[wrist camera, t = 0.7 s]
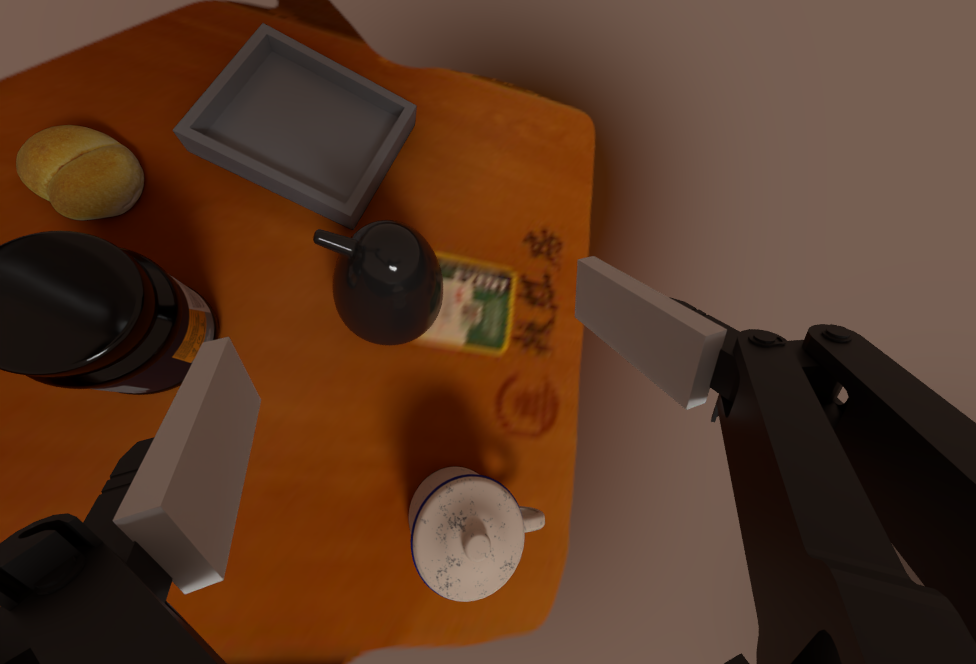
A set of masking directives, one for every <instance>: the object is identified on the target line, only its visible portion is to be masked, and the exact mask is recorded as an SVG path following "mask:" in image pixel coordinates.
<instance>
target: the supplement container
mask: <svg viewBox="0 0 976 664" xmlns="http://www.w3.org/2000/svg"><path fill="white" fill-rule="evenodd" d="M218 336H219V327H218V322H217V318H216V315H215V313H214V311H213V309H212V307H211V306H210V304H209V303H208V302H207V301H206V300H205V299H204V298H203V297H202V296H201V295H200V294H199V293H197V292H196V291H195V290H193V289H191V288H190V287H188V286H186V285H184V284H183V283H181V282H180V281H178V280H177V279H175V278H174V277H172V276H171V275H169V274H168V273H166V271H165V270H164V269H162V268H161V267H160V266H159V265H158V264H156V263H155V262H153V261H152V260H150V259H149V258H147V257H145V256H143V255H141V254H138V253H136V252H133V251H130V250H127V249H124V248H119V247H117V246H115V245H114V244H112V243H110V242H108V241H106V240H104V239H102V238H99V237H96V236H93V235H90V234H85V233H80V232H73V231H48V232H40V233H34V234H30V235H26V236H22V237H19V238H16V239H14V240H11V241H9V242H7V243H4V244H2V245H0V369H1V370H3V371H7V372H11V373H15V374H22V375H26V376H28V377H29V378H32V379H34V380H36V381H38V382H41V383H44V384H47V385H51V386H55V387H61V388H69V389H96V390H105V391H114V392H119V393H124V394H133V395H148V394H155V393H160V392H164V391H168V390H171V389H173V388H176V387H178V386H180V385H181V384H182V382H183V381H184V379H185V377H186V375H187V373H188V371H189V369H190V367H191V365H192V363H193V361H194V359H195V357H196V355H197V353H198V351H199V349H200V347H201V345H202V343H203V342H208V341H212V340H217V339H218Z"/></svg>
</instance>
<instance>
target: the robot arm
mask: <svg viewBox="0 0 976 664" xmlns="http://www.w3.org/2000/svg"><path fill="white" fill-rule="evenodd" d="M575 317H576V318H577V319H578V320H579V321H580V322H582V323H583V324H584V325H585V326H586V327H588V328H589V329H590V330H591V331H592V332H594V333H595V334H596V335H597V336H598V337H600V338H601V339H602V340H603V341H604V342H606V343H607V344H608V345H609V346H610V347H612V348H613V349H614V350H615V351H617V352H618V353H619V354H620V355H621V356H622V357H624V358H625V359H626V360H627V361H628V362H630V363H631V364H632V365H633V366H634V367H636V368H637V369H638V370H639V371H641V372H642V373H643V374H644V375H645V376H646V377H648V378H649V379H650V380H651V381H652V382H654V383H655V384H656V385H657V386H658V387H660V388H661V389H662V390H663V391H664V392H666V393H667V394H668V395H669V396H670V397H672V398H673V399H674V400H675V401H676V402H678V403H679V404H680V405H681V406H683V407H684V408H685V409H686V410H687V409H689V408H692V407H695V406H698V405H701V404H703V403H705V402H706V399H707V396H708V392H709V389H710V388H712V389H713V390H715V391H716V392H717V393H719V396H718V399H717V402H716V405H715V408H714V411H713V414H712V419H711V422H715V420H716V417H718V416H719V418H720V424H721V429H722V434H723V440H724V445H725V450H726V455H727V461H728V465H729V471H730V476H731V481H732V487H733V492H734V497H735V502H736V507H737V513H738V517H739V523H740V528H741V534H742V539H743V544H744V550H745V555H746V560H747V565H748V570H749V576H750V581H751V586H752V592H753V597H754V601H755V607H756V612H757V618H758V625H759V637H758V644H757V664H976V423H975V422H973V421H972V420H971V419H970V418H968V417H967V416H966V415H964V414H963V413H962V412H960V411H959V410H958V409H957V408H955V407H954V406H953V405H951V404H950V403H948V402H947V401H946V400H945V399H943V398H942V397H941V396H940V395H938V394H937V393H935V392H934V391H933V390H932V389H930V388H929V387H928V386H926V385H925V384H924V383H922V382H921V381H920V380H919V379H917V378H916V377H915V376H913V375H912V374H911V373H909V372H908V371H907V370H905V369H904V368H903V367H901V366H900V365H899V364H897V363H896V362H895V361H893V360H892V359H891V358H890V357H888V356H887V355H886V354H884V353H883V352H882V351H881V350H879V349H878V348H877V347H875V346H874V345H873V344H871V343H870V342H869V341H867V340H866V339H865V338H863V337H862V336H861V335H859V334H857V333H856V332H854V331H851V330H848V329H846V328H845V327H841V326H837V325H825V324H820V325H814V326H812V327H810V328H809V329H808V332H807V334H806V336H805V339H804V340H794V341H787V340H786V339H784V338H783V337H781V336H779V335H777V334H775V333H772V332H769V331H764V330H755V329H754V330H753V329H751V330H750V329H749V330H744V331H741V332H739V331H737V330H736V329H734V328H732V327H730V326H728V325H726V324H725V323H723V322H721V321H719V320H717V319H715V318H713V317H712V316H710V315H706V313H704V312H702V311H701V310H697V309H696V308H695V307H693V306H691V305H689V304H688V303H686V302H683V301H680V300H677V299H673V298H670V297H667V296H665V295H663V294H662V293H660V292H658V291H656V290H654V289H653V288H651V287H649V286H647V285H645V284H643V283H641V282H640V281H638V280H636V279H634V278H632V277H631V276H629V275H627V274H625V273H623V272H622V271H620V270H618V269H616V268H614V267H613V266H611V265H609V264H607V263H605V262H603V261H602V260H600V259H598V258H596V257H594V256H592V257H587V258H583V259H578V266H577V286H576V305H575ZM842 387H844V388H845V389H846V391H847V393H848V396H849V398H848V399H847V401H846V402H845V403H842V402H841V401H840V400H839V399H838V398H837V396H838V394H839V393H840V391H841V389H842ZM260 403H261V399H260V397H259V395H258V393H257V391H256V389H255V387H254V385H253V383H252V381H251V379H250V377H249V375H248V373H247V371H246V369H245V368H244V366H243V364H242V362H241V360H240V358H239V356H238V354H237V352H236V350H235V348H234V346H233V344H232V342H231V340H230V338H229V337H226V338H221V339H217V340H212V341H208V342H203V343H202V345H201V347H200V349H199V351H198V353H197V355H196V357H195V359H194V361H193V363H192V365H191V367H190V369H189V371H188V373H187V375H186V377H185V379H184V381H183V382H182V384H181V386H180V388H179V390H178V392H177V394H176V396H175V398H174V400H173V402H172V404H171V406H170V408H169V410H168V412H167V414H166V416H165V418H164V420H163V422H162V424H161V426H160V428H159V430H158V432H157V434H156V436H155V437H154V438H150V439H146V440H143V441H139V442H137V443H136V444H135V445H134V446H133V447H132V448H131V449H130V450H129V451H128V452H127V453H126V454H125V455H124V456H123V457H122V458H121V459H120V460H119V461H118V463H117V465H116V467H115V468H114V470H113V472H112V474H111V475H110V480H108V481H107V482H106V484H105V486H104V488H103V489H102V491H101V492H102V494H101V495H99V496H98V498H97V500H96V501H95V503H94V505H93V507H92V508H91V510H90V512H89V514H88V515H87V517H86V519H85V521H84V522H83V523H82V522H81V521H80V520H79V519H78V518H77V517H75V516H73V515H70V514H59V515H52V516H50V517H47V518H44V519H41V520H39V521H36V522H34V523H32V524H30V525H28V526H26V527H25V528H23V529H21V530H19V531H17V532H15V533H14V534H13V535H11V536H10V537H8V538H7V539H6V540H4V541H3V542H2V543H0V606H1V607H0V664H227V663H226V662H225V661H224V660H223V659H222V658H221V657H220V656H219V655H218V654H217V653H216V652H215V651H214V650H213V649H212V648H211V647H210V646H209V645H208V644H207V642H206V641H205V640H204V639H203V638H202V637H201V636H200V635H199V634H198V633H197V632H196V631H195V630H194V629H193V628H192V627H191V626H190V625H189V624H188V623H187V622H186V621H185V619H184V618H183V617H182V616H181V615H180V614H179V613H178V612H177V611H176V610H175V609H174V608H173V607H172V606H171V605H170V604H169V603H168V602H167V601H166V598H167V595H168V592H169V589H170V586H171V582H172V581H173V582H174V584H175V585H176V586H177V587H178V588H179V589H180V590H181V591H182V592H183V593H184V594H187V593H189V592H192V591H195V590H198V589H200V588H203V587H206V586H209V585H211V584H214V583H217V582H219V581H222V580H224V575H225V570H226V565H227V561H228V556H229V551H230V546H231V541H232V537H233V532H234V527H235V522H236V518H237V513H238V508H239V503H240V498H241V494H242V489H243V484H244V479H245V474H246V470H247V465H248V460H249V455H250V451H251V446H252V441H253V436H254V431H255V427H256V422H257V417H258V412H259V407H260ZM891 543H892V544H893V546H894V547H895V548H896V550H897V551H898V552H899V553H900V555H901V556H902V557H903V559H904V560H905V561H906V562H907V564H908V565H909V566H910V567H911V569H912V570H913V571H914V572H915V574H916V575H917V576H918V578H919V579H920V580H921V582H922V583H923V584H924V585H925V586H921V585H918V584H916V583H915V582H913V581H912V580H911V579H910V577H909V576H908V574H907V573H906V571H905V569H904V567H903V565H902V563H901V562H900V559H899V557H898V556H897V554H896V552H895V550H894V548H893V546H892V544H891ZM724 664H749V663H748V661H747V660H746V659H745V657H744V656H743V655H742V654H739V655H737V656H736V657H734V658H733V659H731V660H729V661H727V662H726V663H724Z"/></svg>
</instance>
